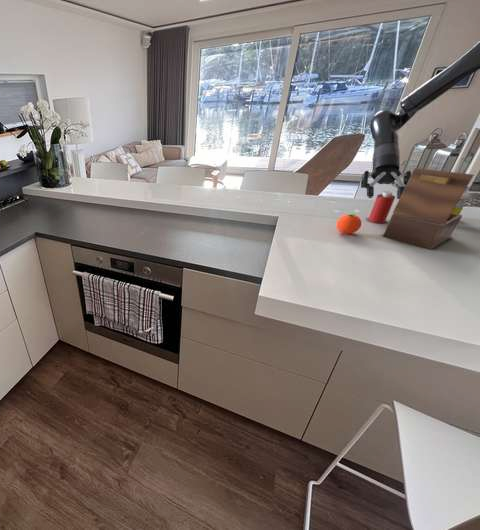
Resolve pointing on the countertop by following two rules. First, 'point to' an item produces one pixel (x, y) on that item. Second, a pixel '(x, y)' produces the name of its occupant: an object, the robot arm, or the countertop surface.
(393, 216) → the chest
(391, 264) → the countertop surface
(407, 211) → the lid
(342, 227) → the clementine
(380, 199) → the sauce bottle
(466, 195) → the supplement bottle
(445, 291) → the countertop surface
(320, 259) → the countertop surface
